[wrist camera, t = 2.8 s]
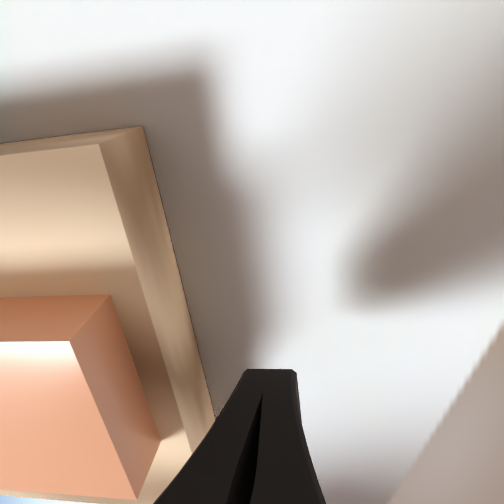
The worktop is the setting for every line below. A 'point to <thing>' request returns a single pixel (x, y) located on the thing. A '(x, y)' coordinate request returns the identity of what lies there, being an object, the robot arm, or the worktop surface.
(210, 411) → the wooden board
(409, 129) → the worktop surface
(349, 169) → the worktop surface
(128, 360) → the tile
